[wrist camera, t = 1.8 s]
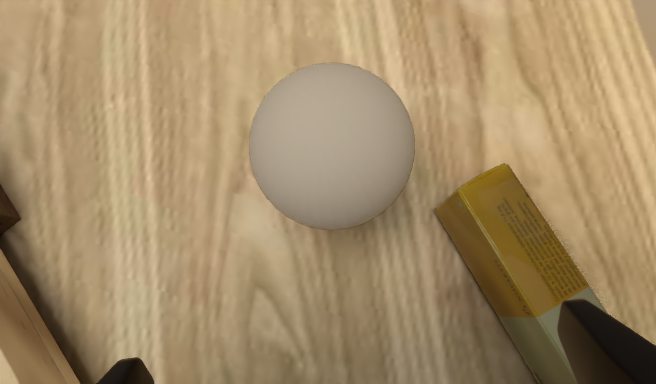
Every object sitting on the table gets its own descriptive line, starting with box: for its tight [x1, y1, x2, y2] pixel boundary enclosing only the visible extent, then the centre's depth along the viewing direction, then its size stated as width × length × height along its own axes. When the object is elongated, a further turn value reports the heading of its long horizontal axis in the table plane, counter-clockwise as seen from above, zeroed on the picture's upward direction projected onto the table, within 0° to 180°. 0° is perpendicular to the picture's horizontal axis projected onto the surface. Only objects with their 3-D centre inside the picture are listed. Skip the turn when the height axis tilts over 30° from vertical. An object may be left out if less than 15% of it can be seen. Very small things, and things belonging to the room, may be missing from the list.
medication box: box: [434, 163, 608, 384], centre depth 19 cm, size 12×3×4 cm, turn 28°
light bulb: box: [249, 63, 415, 230], centre depth 18 cm, size 6×6×10 cm
